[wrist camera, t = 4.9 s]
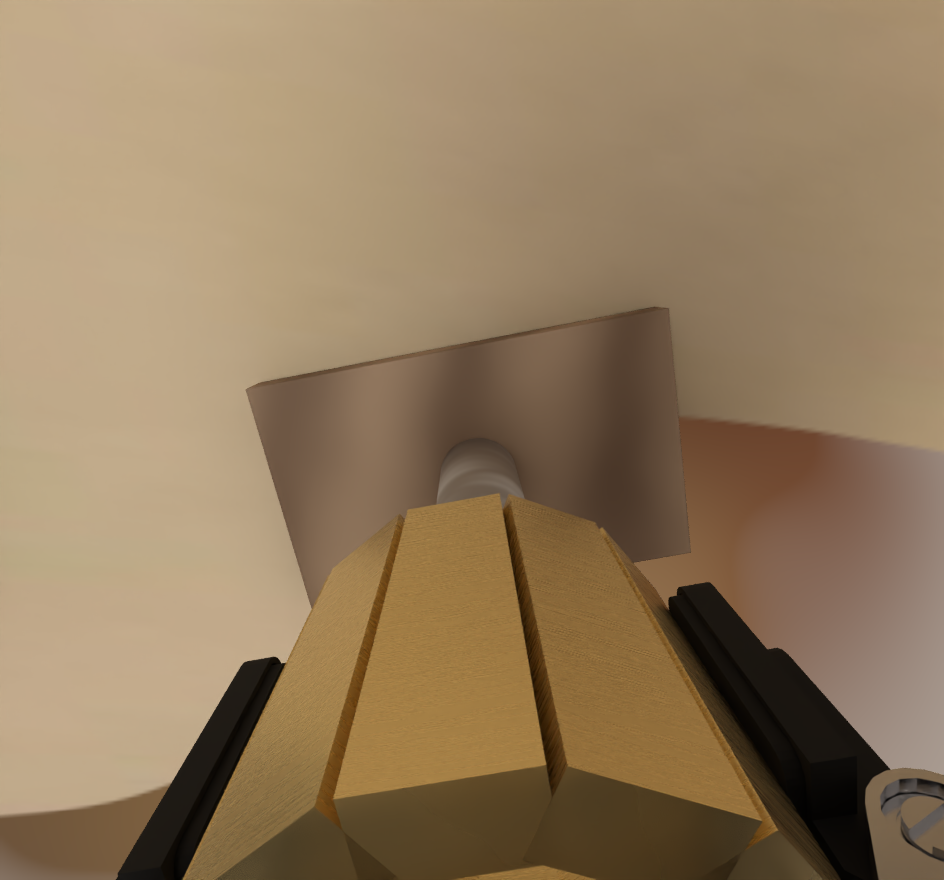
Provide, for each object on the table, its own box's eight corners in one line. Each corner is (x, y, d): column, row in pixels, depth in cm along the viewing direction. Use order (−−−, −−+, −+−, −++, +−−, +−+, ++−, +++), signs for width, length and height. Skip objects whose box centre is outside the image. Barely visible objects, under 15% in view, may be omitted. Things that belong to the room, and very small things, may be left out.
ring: (644, 467, 10) (890, 709, 4) (678, 776, 12) (883, 1242, 6) (266, 534, 10) (12, 851, 4) (356, 826, 12) (257, 1321, 6)
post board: (654, 307, 22) (804, 323, 12) (677, 536, 24) (815, 699, 15) (259, 382, 22) (105, 455, 13) (323, 599, 25) (234, 794, 15)
